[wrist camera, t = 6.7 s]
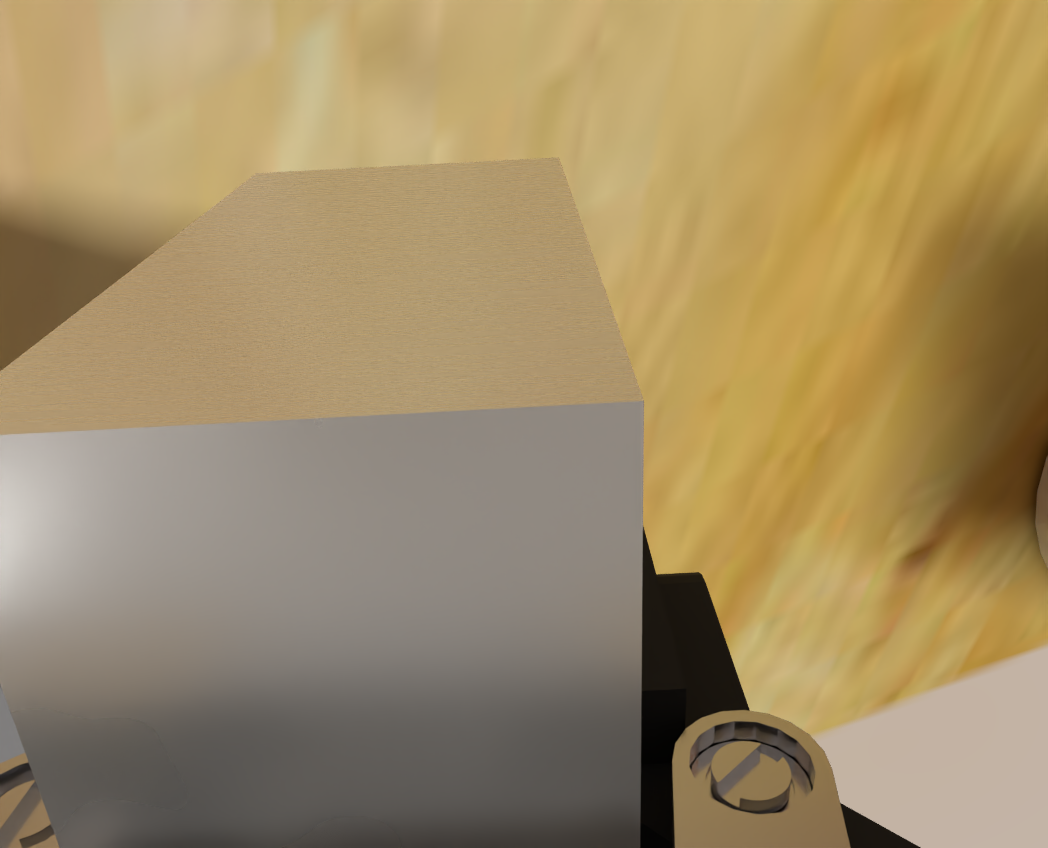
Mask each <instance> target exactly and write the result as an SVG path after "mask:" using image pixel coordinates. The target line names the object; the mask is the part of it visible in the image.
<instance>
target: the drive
mask: <svg viewBox="0 0 1048 848" xmlns="http://www.w3.org/2000/svg"><path fill="white" fill-rule="evenodd" d="M643 437H644V400H643V397H642V394H641V392H640V389H639V386H638V383H637V380H636V377H635V374H634V371H633V369H632V366H631V363H630V360H629V357H628V354H627V351H626V349H625V346H624V343H623V340H622V337H621V334H620V331H619V328H618V326H617V323H616V320H615V317H614V314H613V311H612V308H611V306H610V303H609V300H608V297H607V294H606V291H605V288H604V285H603V283H602V280H601V277H600V274H599V271H598V268H597V265H596V263H595V260H594V257H593V254H592V251H591V248H590V245H589V242H588V240H587V237H586V234H585V231H584V228H583V225H582V222H581V220H580V217H579V214H578V211H577V208H576V205H575V202H574V199H573V197H572V194H571V191H570V188H569V185H568V182H567V179H566V177H565V174H564V171H563V168H562V165H561V162H560V159H559V158H541V159H522V160H503V161H484V162H465V163H446V164H427V165H408V166H389V167H370V168H351V169H331V170H312V171H293V172H274V173H256V174H255V175H254V176H252V177H251V178H250V179H248V180H247V181H246V182H245V183H243V184H242V185H241V186H239V187H238V188H237V189H236V190H234V191H233V192H232V193H230V194H229V195H228V196H226V197H225V198H224V199H223V200H221V201H220V202H219V203H217V204H216V205H215V206H214V207H212V208H211V209H210V210H208V211H207V212H206V213H204V214H203V215H202V216H201V217H199V218H198V219H197V220H195V221H194V222H193V223H192V224H190V225H189V226H188V227H186V228H185V229H184V230H182V231H181V232H180V233H179V234H177V235H176V236H175V237H173V238H172V239H171V240H170V241H168V242H167V243H166V244H164V245H163V246H162V247H160V248H159V249H158V250H157V251H155V252H154V253H153V254H151V255H150V256H149V257H148V258H146V259H145V260H144V261H142V262H141V263H140V264H138V265H137V266H136V267H135V268H133V269H132V270H131V271H129V272H128V273H127V274H126V275H124V276H123V277H122V278H120V279H119V280H118V281H116V282H115V283H114V284H113V285H111V286H110V287H109V288H107V289H106V290H105V291H104V292H102V293H101V294H100V295H98V296H97V297H96V298H94V299H93V300H92V301H91V302H89V303H88V304H87V305H85V306H84V307H83V308H82V309H80V310H79V311H78V312H76V313H75V314H74V315H72V316H71V317H70V318H69V319H67V320H66V321H65V322H63V323H62V324H61V325H60V326H58V327H57V328H56V329H54V330H53V331H52V332H50V333H49V334H48V335H47V336H45V337H44V338H43V339H41V340H40V341H39V342H38V343H36V344H35V345H34V346H32V347H31V348H30V349H28V350H27V351H26V352H25V353H23V354H22V355H21V356H19V357H18V358H17V359H16V360H14V361H13V362H12V363H10V364H9V365H8V366H6V367H5V368H4V369H3V370H1V371H0V685H1V687H2V690H3V693H4V696H5V698H6V701H7V704H8V707H9V709H10V712H11V715H12V718H13V720H14V723H15V726H16V729H17V732H18V734H19V737H20V740H21V743H22V745H23V748H24V751H25V754H26V756H27V759H28V762H29V765H30V767H31V770H32V773H33V776H34V778H35V781H36V784H37V787H38V789H39V792H40V795H41V798H42V800H43V803H44V806H45V809H46V811H47V814H48V817H49V820H50V822H51V825H52V828H53V831H54V834H55V836H56V839H57V842H58V845H59V847H60V848H640V809H641V685H642V561H643Z"/></svg>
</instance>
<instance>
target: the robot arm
mask: <svg viewBox="0 0 1048 848" xmlns="http://www.w3.org/2000/svg"><path fill="white" fill-rule="evenodd" d="M1035 525H1036V531H1037V536H1038V542H1039V547H1040V552H1041V555H1042V558H1043V560H1044V562H1045V564H1046V566H1047V568H1048V455H1047V458H1046V461H1045V465H1044V469H1043V472H1042V476H1041V480H1040V483H1039V487H1038V491H1037V504H1036V522H1035ZM0 848H60V847H59V845H58V842H57V839H56V836H55V834H54V831H53V828H52V825H51V822H50V820H49V817H48V814H47V811H46V809H45V806H44V803H43V800H42V798H41V795H40V792H39V789H38V787H37V784H36V781H35V778H34V776H33V773H32V770H31V767H30V765H29V762H28V759H27V756H26V754H25V753H23V754H21V755H18V756H16V757H14V758H11V759H9V760H7V761H4V762H2V763H0ZM640 848H920V847H918V846H917V845H915V844H913V843H911V842H909V841H908V840H906V839H904V838H902V837H900V836H899V835H897V834H895V833H893V832H891V831H890V830H888V829H886V828H884V827H882V826H881V825H879V824H877V823H875V822H873V821H872V820H870V819H868V818H866V817H864V816H863V815H861V814H859V813H857V812H855V811H854V810H852V809H850V808H848V807H846V806H845V805H843V804H841V803H840V801H839V796H838V792H837V788H836V783H835V779H834V775H833V771H832V768H831V765H830V763H829V761H828V759H827V756H826V754H825V752H824V750H823V749H822V748H821V747H820V746H819V745H818V744H817V743H816V741H815V740H814V739H813V738H812V737H811V736H810V735H809V734H808V733H806V732H804V731H803V730H801V729H800V728H798V727H797V726H795V725H794V724H792V723H791V722H789V721H786V720H783V719H781V718H778V717H775V716H773V715H770V714H767V713H760V712H754V711H750V710H749V707H748V704H747V701H746V699H745V696H744V693H743V690H742V687H741V684H740V681H739V678H738V675H737V672H736V670H735V667H734V664H733V661H732V658H731V655H730V652H729V649H728V646H727V644H726V641H725V638H724V635H723V632H722V629H721V626H720V623H719V620H718V617H717V615H716V612H715V609H714V606H713V603H712V600H711V597H710V594H709V591H708V588H707V586H706V583H705V580H704V578H703V576H702V574H700V573H699V572H696V573H677V574H658V575H656V572H655V568H654V565H653V561H652V557H651V553H650V550H649V546H648V542H647V538H646V535H645V531H644V527H643V561H642V685H641V809H640Z"/></svg>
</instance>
